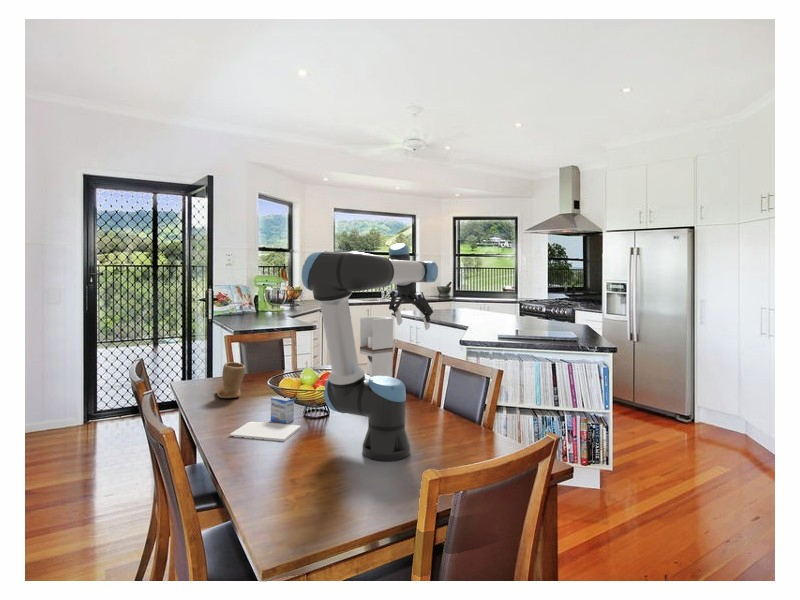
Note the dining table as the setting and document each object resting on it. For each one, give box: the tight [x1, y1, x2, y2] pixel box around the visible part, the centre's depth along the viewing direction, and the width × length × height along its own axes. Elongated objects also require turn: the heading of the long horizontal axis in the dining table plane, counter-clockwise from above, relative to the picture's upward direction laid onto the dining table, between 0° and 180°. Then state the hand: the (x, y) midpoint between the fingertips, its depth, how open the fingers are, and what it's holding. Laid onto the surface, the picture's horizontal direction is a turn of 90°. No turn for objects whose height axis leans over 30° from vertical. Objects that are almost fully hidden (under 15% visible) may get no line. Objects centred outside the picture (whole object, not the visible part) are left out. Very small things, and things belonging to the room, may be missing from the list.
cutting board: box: [229, 421, 302, 442], centre depth 166 cm, size 14×20×1 cm
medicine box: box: [270, 395, 295, 424], centre depth 178 cm, size 8×4×9 cm, turn 62°
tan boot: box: [216, 361, 246, 399], centre depth 211 cm, size 15×12×15 cm
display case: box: [359, 315, 394, 378], centre depth 223 cm, size 11×11×35 cm
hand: (413, 326), depth 198 cm, fingers open, 13 cm apart
